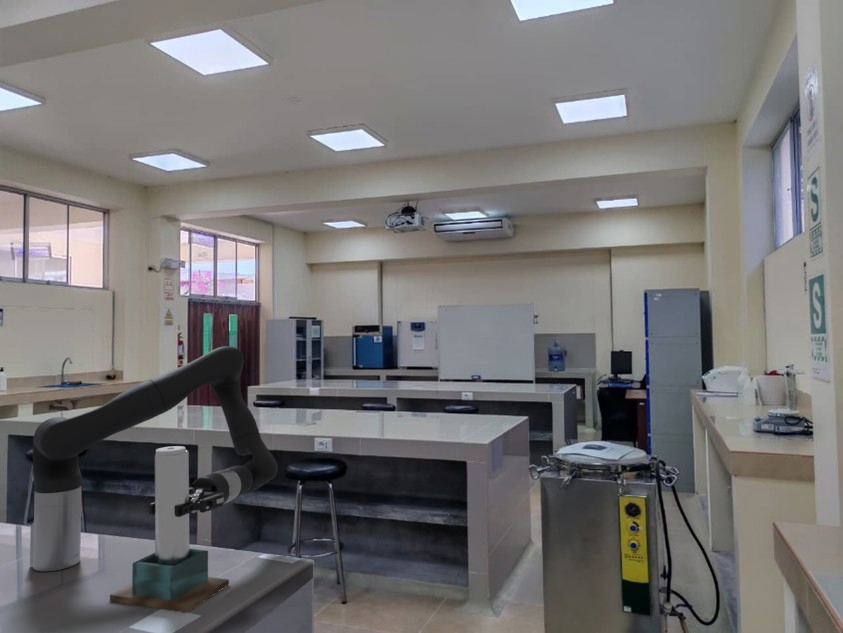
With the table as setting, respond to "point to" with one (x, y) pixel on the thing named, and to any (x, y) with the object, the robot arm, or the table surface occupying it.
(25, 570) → the table surface
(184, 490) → the silver metal cylinder
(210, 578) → the cup stand
